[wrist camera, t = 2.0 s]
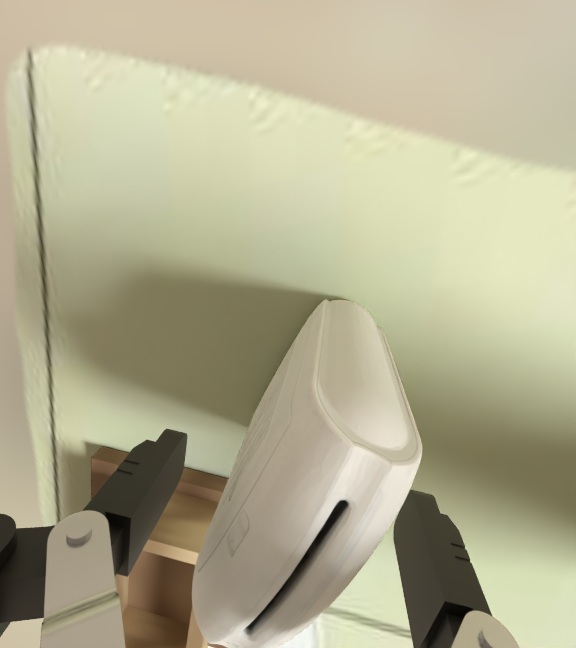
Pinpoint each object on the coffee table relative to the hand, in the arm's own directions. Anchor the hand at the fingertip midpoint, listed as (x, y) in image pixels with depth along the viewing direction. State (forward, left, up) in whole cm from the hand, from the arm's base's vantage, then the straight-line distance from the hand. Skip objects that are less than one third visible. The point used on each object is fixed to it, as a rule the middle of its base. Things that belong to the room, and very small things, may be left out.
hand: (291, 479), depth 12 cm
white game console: (0, 0, -9) cm, 9 cm away
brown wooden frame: (+7, +17, -8) cm, 20 cm away
